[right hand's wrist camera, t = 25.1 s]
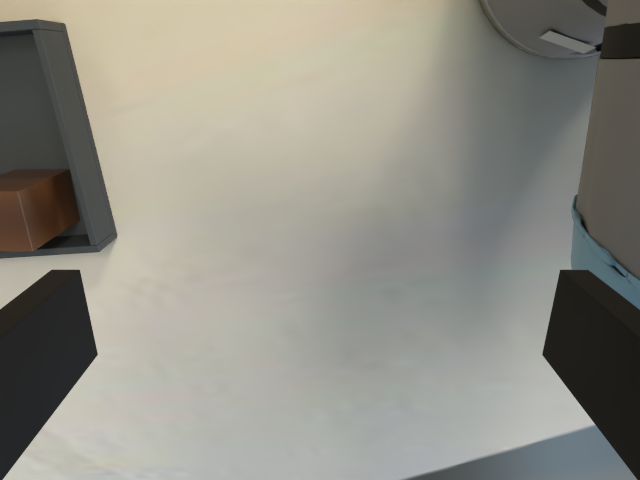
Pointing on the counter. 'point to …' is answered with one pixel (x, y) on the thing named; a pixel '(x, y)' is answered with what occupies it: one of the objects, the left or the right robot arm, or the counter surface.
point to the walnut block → (35, 207)
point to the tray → (51, 128)
